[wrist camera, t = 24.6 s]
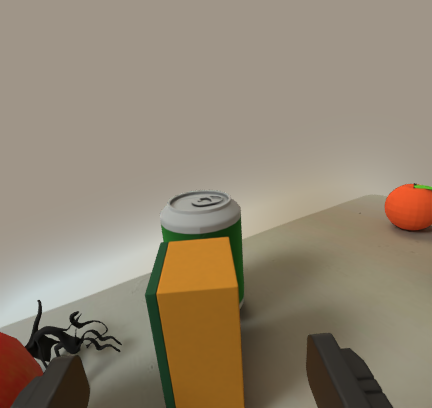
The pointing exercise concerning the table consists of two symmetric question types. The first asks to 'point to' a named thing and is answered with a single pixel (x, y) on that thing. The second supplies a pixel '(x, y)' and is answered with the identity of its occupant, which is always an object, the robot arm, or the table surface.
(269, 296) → the table surface
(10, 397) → the apple
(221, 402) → the sponge
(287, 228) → the table surface
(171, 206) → the soda can
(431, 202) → the clementine
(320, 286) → the table surface
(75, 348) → the creature
